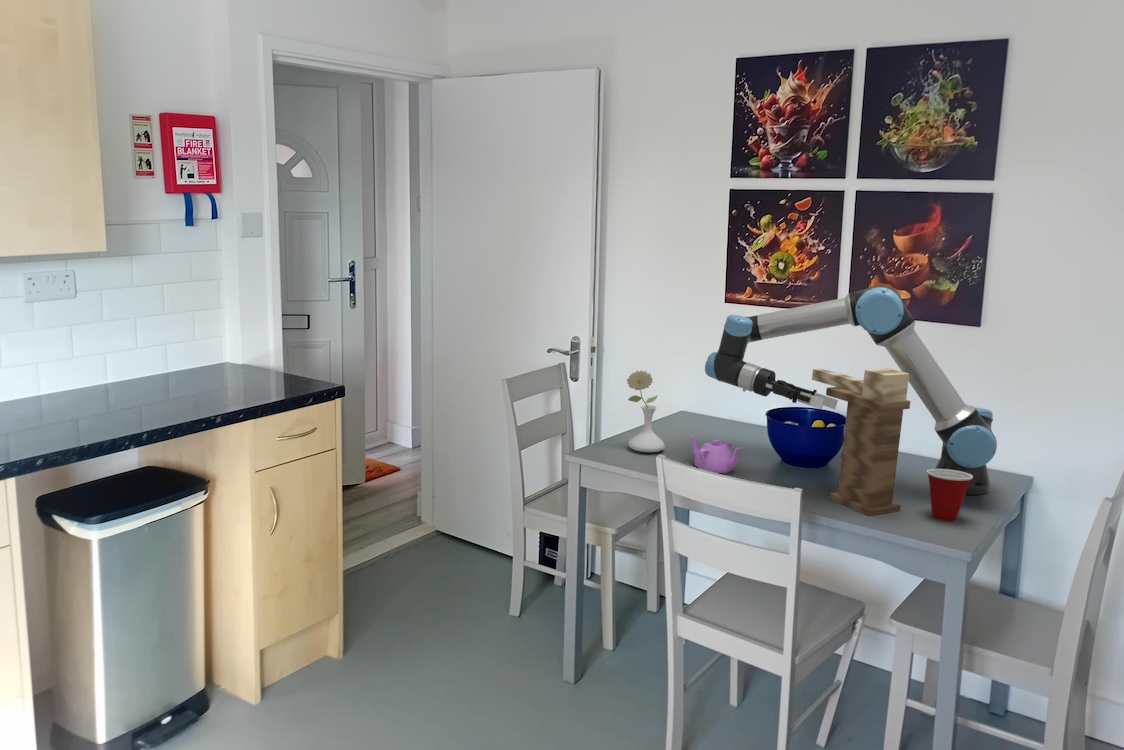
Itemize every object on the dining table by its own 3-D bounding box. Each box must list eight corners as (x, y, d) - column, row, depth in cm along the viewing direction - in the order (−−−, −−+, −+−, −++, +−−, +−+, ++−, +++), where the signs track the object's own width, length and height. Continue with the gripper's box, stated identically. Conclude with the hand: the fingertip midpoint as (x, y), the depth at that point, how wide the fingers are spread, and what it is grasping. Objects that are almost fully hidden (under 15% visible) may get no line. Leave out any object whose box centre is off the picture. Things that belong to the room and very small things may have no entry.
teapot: (739, 476, 250) (742, 446, 248) (690, 474, 250) (693, 444, 249) (734, 464, 261) (736, 435, 260) (687, 461, 262) (689, 433, 260)
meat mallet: (906, 400, 221) (909, 373, 220) (882, 403, 218) (886, 375, 216) (827, 378, 246) (829, 353, 244) (804, 380, 242) (807, 355, 241)
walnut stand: (900, 510, 227) (913, 401, 221) (868, 516, 222) (881, 404, 216) (844, 487, 244) (856, 385, 238) (814, 491, 239) (825, 387, 233)
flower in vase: (667, 447, 276) (672, 369, 271) (661, 457, 265) (667, 376, 260) (626, 442, 279) (630, 365, 274) (619, 452, 268) (623, 372, 263)
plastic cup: (954, 510, 229) (960, 466, 226) (975, 525, 218) (981, 479, 216) (913, 509, 228) (919, 465, 226) (932, 524, 218) (938, 478, 215)
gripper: (768, 393, 259) (837, 417, 249) (737, 391, 238) (812, 418, 227) (775, 369, 258) (845, 392, 248) (746, 365, 237) (821, 390, 226)
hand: (829, 404), depth 237 cm, fingers open, 13 cm apart
